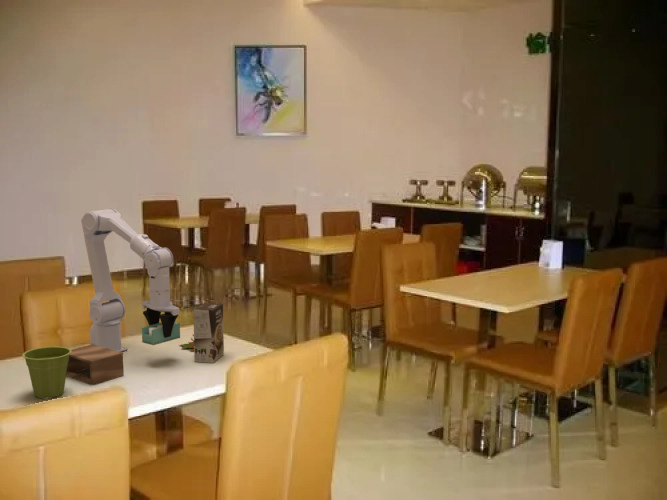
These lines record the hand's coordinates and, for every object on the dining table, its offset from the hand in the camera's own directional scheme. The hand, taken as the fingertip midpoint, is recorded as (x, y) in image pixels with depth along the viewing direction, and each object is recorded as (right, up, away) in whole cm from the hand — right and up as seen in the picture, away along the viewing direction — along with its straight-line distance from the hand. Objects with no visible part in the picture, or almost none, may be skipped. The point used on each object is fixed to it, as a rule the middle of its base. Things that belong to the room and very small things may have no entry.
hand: (161, 335), depth 218 cm
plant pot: (-23, -13, -25) cm, 36 cm away
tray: (0, -1, 0) cm, 2 cm away
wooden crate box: (-16, -10, -10) cm, 22 cm away
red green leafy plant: (+8, -6, +18) cm, 20 cm away
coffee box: (+13, -8, +6) cm, 16 cm away
